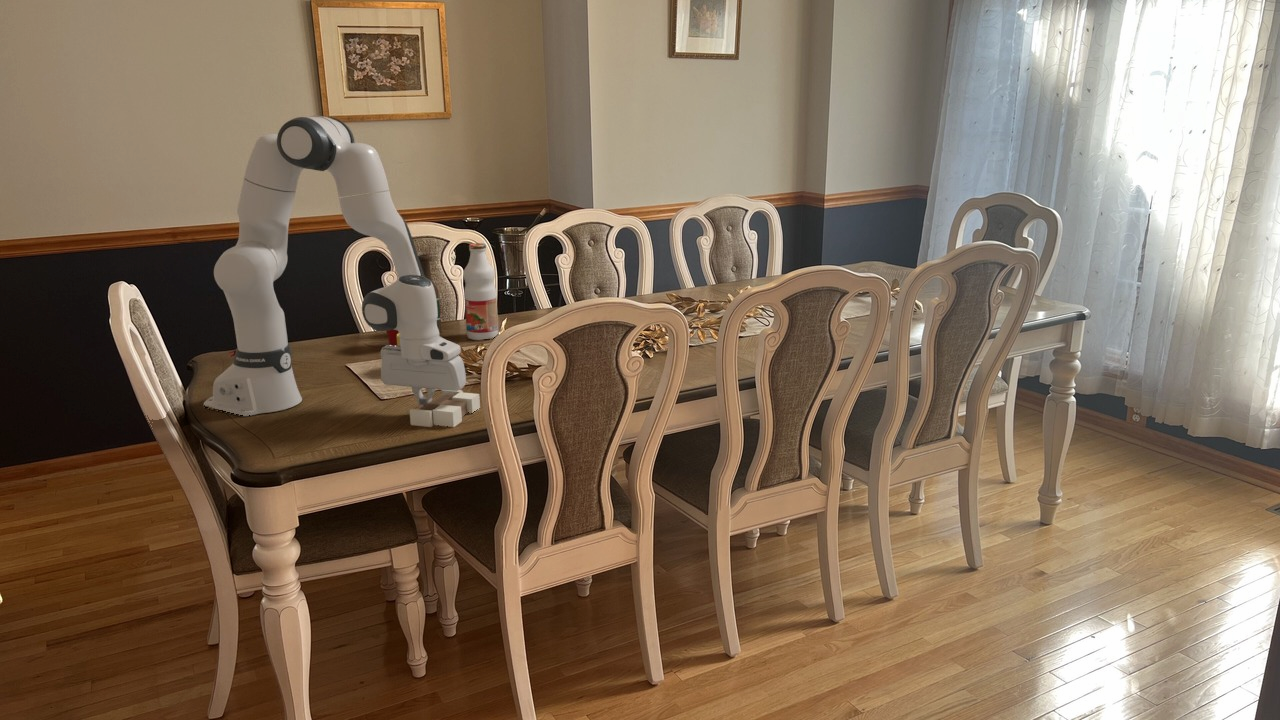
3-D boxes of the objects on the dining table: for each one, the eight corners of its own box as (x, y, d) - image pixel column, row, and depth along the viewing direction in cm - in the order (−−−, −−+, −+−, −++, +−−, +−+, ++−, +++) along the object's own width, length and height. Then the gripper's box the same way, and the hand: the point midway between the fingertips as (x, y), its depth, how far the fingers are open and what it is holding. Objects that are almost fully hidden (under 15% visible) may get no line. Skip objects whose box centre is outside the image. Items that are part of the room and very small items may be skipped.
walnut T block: (419, 421, 209) (418, 409, 209) (443, 406, 220) (442, 393, 219) (451, 425, 207) (450, 412, 206) (473, 409, 217) (473, 396, 216)
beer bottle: (412, 335, 281) (405, 257, 274) (422, 329, 289) (416, 252, 282) (436, 336, 280) (430, 257, 273) (446, 330, 287) (440, 253, 281)
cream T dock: (410, 424, 208) (409, 410, 207) (444, 402, 222) (443, 388, 221) (451, 429, 205) (449, 414, 204) (482, 406, 219) (481, 392, 218)
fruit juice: (503, 338, 278) (498, 245, 270) (473, 342, 273) (467, 248, 265) (492, 331, 285) (486, 240, 277) (462, 335, 281) (456, 243, 273)
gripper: (372, 347, 210) (378, 405, 214) (453, 354, 205) (458, 413, 209) (387, 340, 216) (392, 396, 220) (467, 346, 210) (470, 404, 214)
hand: (425, 405), depth 214 cm, fingers closed
